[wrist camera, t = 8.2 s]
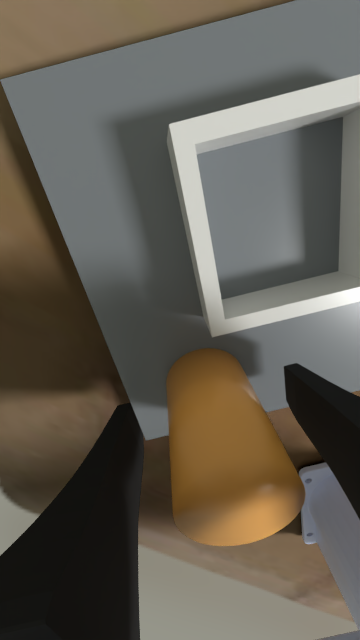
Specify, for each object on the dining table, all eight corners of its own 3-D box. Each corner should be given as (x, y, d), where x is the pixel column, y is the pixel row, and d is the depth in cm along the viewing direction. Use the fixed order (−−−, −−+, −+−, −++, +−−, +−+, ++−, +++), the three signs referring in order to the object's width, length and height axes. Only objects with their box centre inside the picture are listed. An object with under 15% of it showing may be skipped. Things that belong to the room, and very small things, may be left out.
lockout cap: (247, 402, 14) (306, 529, 8) (176, 419, 14) (188, 556, 8) (238, 339, 12) (304, 447, 7) (157, 359, 12) (157, 481, 7)
